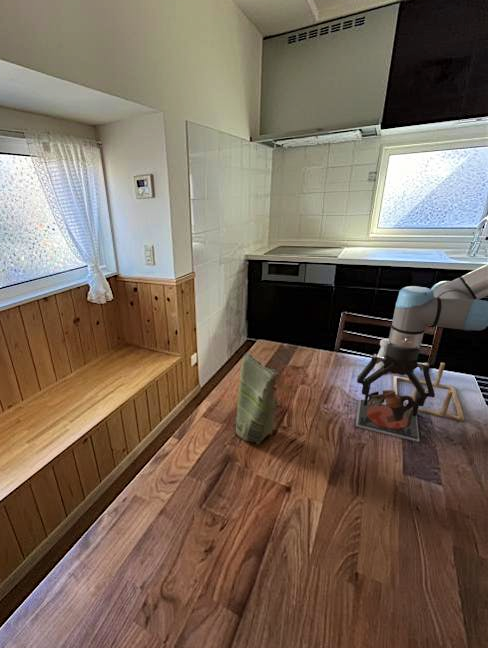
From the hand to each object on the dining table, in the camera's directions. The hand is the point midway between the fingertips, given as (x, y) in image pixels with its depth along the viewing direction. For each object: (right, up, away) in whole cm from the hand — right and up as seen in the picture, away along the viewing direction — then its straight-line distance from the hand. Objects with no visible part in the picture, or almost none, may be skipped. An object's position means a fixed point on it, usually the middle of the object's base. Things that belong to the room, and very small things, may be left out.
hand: (389, 408), depth 100 cm
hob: (0, -4, +2) cm, 4 cm away
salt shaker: (+13, +8, +27) cm, 31 cm away
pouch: (-40, -8, 0) cm, 41 cm away
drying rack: (+18, +1, +11) cm, 22 cm away
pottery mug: (0, -2, +1) cm, 2 cm away
